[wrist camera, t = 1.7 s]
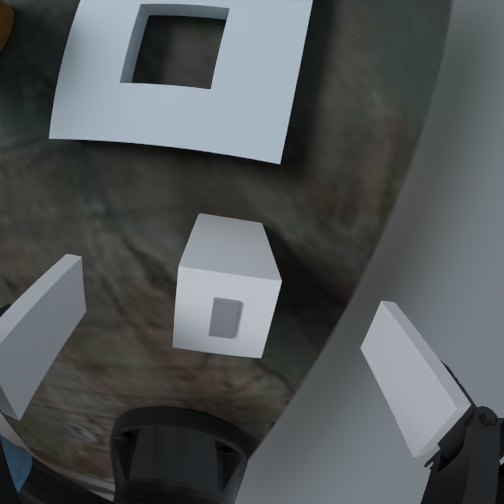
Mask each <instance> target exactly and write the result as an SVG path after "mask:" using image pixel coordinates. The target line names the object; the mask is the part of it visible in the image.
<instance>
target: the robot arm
mask: <svg viewBox="0 0 504 504" xmlns="http://www.w3.org/2000/svg"><path fill="white" fill-rule="evenodd" d="M85 312H86V306H85V297H84V285H83V272H82V257H80V256H75V255H70V254H66V255H65V256H64V257H63V258H62V259H60V260H59V261H58V262H57V263H56V264H55V265H54V266H53V267H51V268H50V269H49V270H48V271H47V272H46V273H45V274H44V275H43V276H42V277H41V278H39V279H38V280H37V281H36V282H35V283H34V284H33V285H32V286H31V287H30V288H29V289H28V290H27V291H26V292H25V293H24V294H23V295H22V296H21V297H20V298H19V299H18V300H17V301H16V302H15V303H14V304H13V305H9V304H8V305H6V306H4V307H2V308H0V409H1V411H2V412H3V413H5V414H7V415H9V416H11V417H13V418H15V419H17V420H19V421H20V419H21V417H22V415H23V413H24V411H25V409H26V408H27V406H28V404H29V402H30V400H31V398H32V397H33V395H34V393H35V391H36V390H37V388H38V386H39V384H40V383H41V381H42V379H43V378H44V376H45V374H46V373H47V371H48V369H49V368H50V366H51V364H52V363H53V361H54V359H55V358H56V356H57V355H58V353H59V351H60V350H61V348H62V347H63V345H64V344H65V342H66V341H67V339H68V338H69V336H70V335H71V333H72V332H73V330H74V329H75V327H76V326H77V324H78V323H79V321H80V320H81V318H82V317H83V315H84V314H85ZM361 350H362V352H363V354H364V356H365V358H366V360H367V362H368V364H369V366H370V368H371V370H372V372H373V374H374V376H375V378H376V380H377V382H378V384H379V386H380V388H381V390H382V392H383V394H384V396H385V397H386V400H387V402H388V404H389V406H390V408H391V410H392V412H393V415H394V417H395V419H396V421H397V423H398V425H399V427H400V429H401V432H402V434H403V436H404V438H405V440H406V443H407V445H408V447H409V449H410V451H411V454H412V456H413V457H416V456H420V455H424V454H427V453H429V452H430V451H431V450H432V449H433V448H434V447H435V446H436V445H437V444H438V445H439V447H440V450H439V451H438V452H437V453H436V454H435V455H434V456H433V457H432V458H431V459H430V460H429V461H427V462H426V464H425V465H424V467H427V466H428V465H429V464H430V463H431V462H433V465H432V466H431V467H430V468H429V469H431V473H430V476H429V480H428V483H427V486H426V489H425V492H424V495H423V498H422V501H421V504H504V463H503V464H502V465H500V461H499V460H500V459H501V458H502V457H504V418H498V417H497V415H496V414H495V413H494V412H493V411H492V410H491V409H489V408H488V407H484V406H481V407H478V408H477V407H476V405H475V404H474V403H473V401H472V400H471V398H470V397H469V395H468V394H467V393H466V391H465V389H464V388H463V387H462V385H461V384H459V381H458V380H457V378H456V377H454V374H453V373H452V371H451V370H450V369H449V367H448V366H447V365H445V364H444V363H443V362H442V361H441V360H440V359H439V358H438V357H437V356H436V354H435V353H434V352H433V350H432V349H431V348H430V346H429V345H428V344H427V342H426V341H425V340H424V338H423V337H422V336H421V335H420V333H419V332H418V331H417V330H416V328H415V327H414V326H413V324H412V323H411V322H410V321H409V320H408V318H407V317H406V316H405V315H404V313H403V312H402V311H401V310H400V308H399V307H398V306H397V305H396V304H395V302H388V301H381V303H380V306H379V308H378V310H377V312H376V315H375V317H374V319H373V322H372V324H371V326H370V329H369V331H368V333H367V335H366V337H365V339H364V342H363V344H362V346H361ZM110 452H111V461H112V468H113V475H114V482H115V494H114V499H113V502H112V501H110V500H108V499H105V498H103V497H101V496H99V495H97V494H95V493H93V492H91V491H89V490H87V489H85V488H83V487H82V486H80V485H78V484H76V483H74V482H72V481H71V480H69V479H67V478H65V477H64V476H62V475H60V474H59V473H57V472H55V471H54V470H52V469H51V468H49V467H47V466H46V465H44V464H43V463H41V462H40V461H38V460H37V459H35V458H34V457H32V456H31V454H30V453H29V452H28V451H27V450H26V449H24V448H22V447H20V446H16V445H15V444H13V443H12V442H10V441H9V440H7V439H6V438H5V437H3V436H2V435H0V504H234V502H235V499H236V497H237V494H238V491H239V488H240V485H241V482H242V479H243V476H244V473H245V470H246V467H247V462H248V457H247V445H246V441H245V439H244V437H243V436H242V435H241V434H240V433H239V432H238V431H237V430H236V429H235V428H233V427H232V426H230V425H229V424H227V423H225V422H223V421H221V420H219V419H217V418H214V417H212V416H209V415H206V414H202V413H199V412H195V411H190V410H185V409H179V408H170V407H146V408H139V409H134V410H131V411H128V412H126V413H124V414H122V415H121V416H120V417H118V419H117V420H116V421H115V423H114V426H113V430H112V433H111V437H110Z"/></svg>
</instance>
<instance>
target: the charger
mask: <svg viewBox="0 0 504 504" xmlns="http://www.w3.org/2000/svg"><path fill="white" fill-rule="evenodd" d="M281 283H282V280H281V277H280V274H279V271H278V268H277V265H276V262H275V259H274V256H273V254H272V251H271V248H270V245H269V242H268V239H267V236H266V233H265V230H264V228H263V225H262V223H257V222H251V221H245V220H239V219H233V218H226V217H220V216H213V215H207V214H200V213H199V215H198V218H197V220H196V223H195V225H194V228H193V230H192V233H191V235H190V238H189V240H188V243H187V246H186V248H185V251H184V254H183V256H182V259H181V261H180V264H179V269H178V280H177V291H176V304H175V318H174V334H173V347H175V348H182V349H188V350H195V351H202V352H209V353H217V354H226V355H234V356H244V357H254V358H261V357H262V354H263V350H264V346H265V343H266V339H267V336H268V332H269V328H270V325H271V321H272V317H273V313H274V310H275V306H276V302H277V298H278V294H279V290H280V287H281Z"/></svg>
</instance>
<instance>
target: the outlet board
mask: <svg viewBox="0 0 504 504" xmlns="http://www.w3.org/2000/svg"><path fill="white" fill-rule="evenodd" d="M312 2H313V0H81V1H80V3H79V6H78V9H77V12H76V15H75V18H74V21H73V24H72V27H71V30H70V34H69V37H68V41H67V44H66V48H65V52H64V56H63V60H62V64H61V68H60V72H59V77H58V82H57V87H56V92H55V98H54V104H53V110H52V117H51V125H50V133H49V139H80V140H100V141H115V142H128V143H139V144H150V145H159V146H168V147H177V148H185V149H192V150H199V151H206V152H213V153H220V154H226V155H232V156H238V157H244V158H250V159H255V160H261V161H266V162H271V163H276V164H280V162H281V157H282V152H283V148H284V143H285V138H286V133H287V128H288V123H289V118H290V113H291V108H292V103H293V98H294V93H295V88H296V83H297V78H298V73H299V68H300V63H301V58H302V53H303V48H304V43H305V38H306V33H307V28H308V22H309V17H310V12H311V7H312ZM149 15H173V16H192V17H205V18H215V19H223V20H227V21H226V25H225V29H224V33H223V37H222V41H221V45H220V50H219V54H218V58H217V63H216V67H215V71H214V76H213V81H212V85H211V90H209V89H201V88H192V87H183V86H172V85H159V84H141V83H132V78H133V74H134V69H135V65H136V61H137V57H138V53H139V49H140V45H141V41H142V37H143V34H144V30H145V27H146V23H147V20H148V17H149Z"/></svg>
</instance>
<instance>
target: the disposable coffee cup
mask: <svg viewBox="0 0 504 504" xmlns="http://www.w3.org/2000/svg"><path fill="white" fill-rule="evenodd" d="M13 21H14V12H13V9H12V8H11V6H9V5H8V4H6V3H5V2H4V1H2V0H0V52H1V51H2V49H3V48H4V46H5V44H6V42H7V40H8V38H9V35H10V33H11V30H12V26H13Z"/></svg>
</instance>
